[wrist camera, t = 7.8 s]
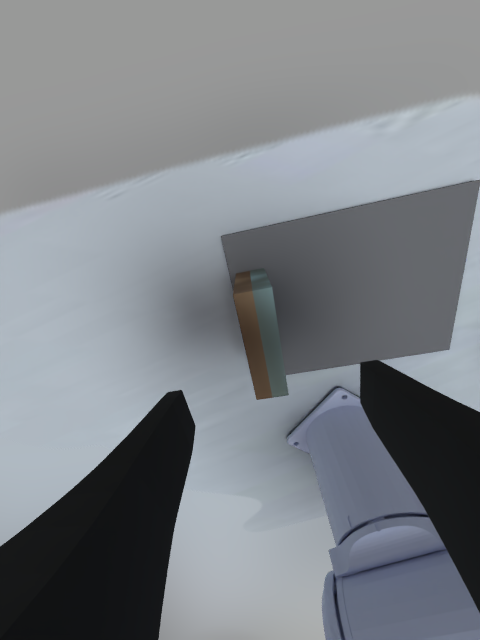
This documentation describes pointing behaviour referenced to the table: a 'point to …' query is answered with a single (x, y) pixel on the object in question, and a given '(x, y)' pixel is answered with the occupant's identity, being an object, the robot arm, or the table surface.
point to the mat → (363, 277)
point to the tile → (260, 333)
